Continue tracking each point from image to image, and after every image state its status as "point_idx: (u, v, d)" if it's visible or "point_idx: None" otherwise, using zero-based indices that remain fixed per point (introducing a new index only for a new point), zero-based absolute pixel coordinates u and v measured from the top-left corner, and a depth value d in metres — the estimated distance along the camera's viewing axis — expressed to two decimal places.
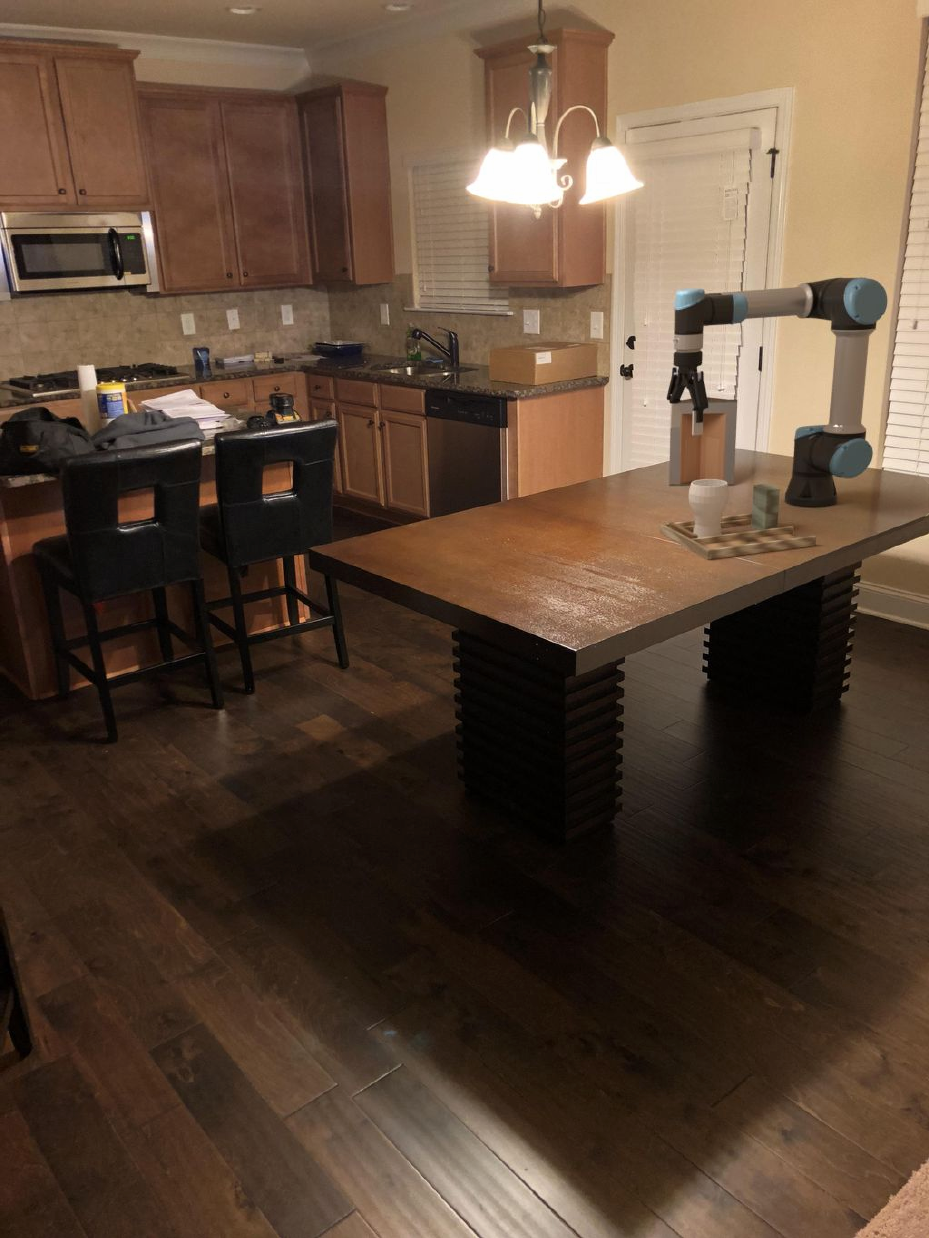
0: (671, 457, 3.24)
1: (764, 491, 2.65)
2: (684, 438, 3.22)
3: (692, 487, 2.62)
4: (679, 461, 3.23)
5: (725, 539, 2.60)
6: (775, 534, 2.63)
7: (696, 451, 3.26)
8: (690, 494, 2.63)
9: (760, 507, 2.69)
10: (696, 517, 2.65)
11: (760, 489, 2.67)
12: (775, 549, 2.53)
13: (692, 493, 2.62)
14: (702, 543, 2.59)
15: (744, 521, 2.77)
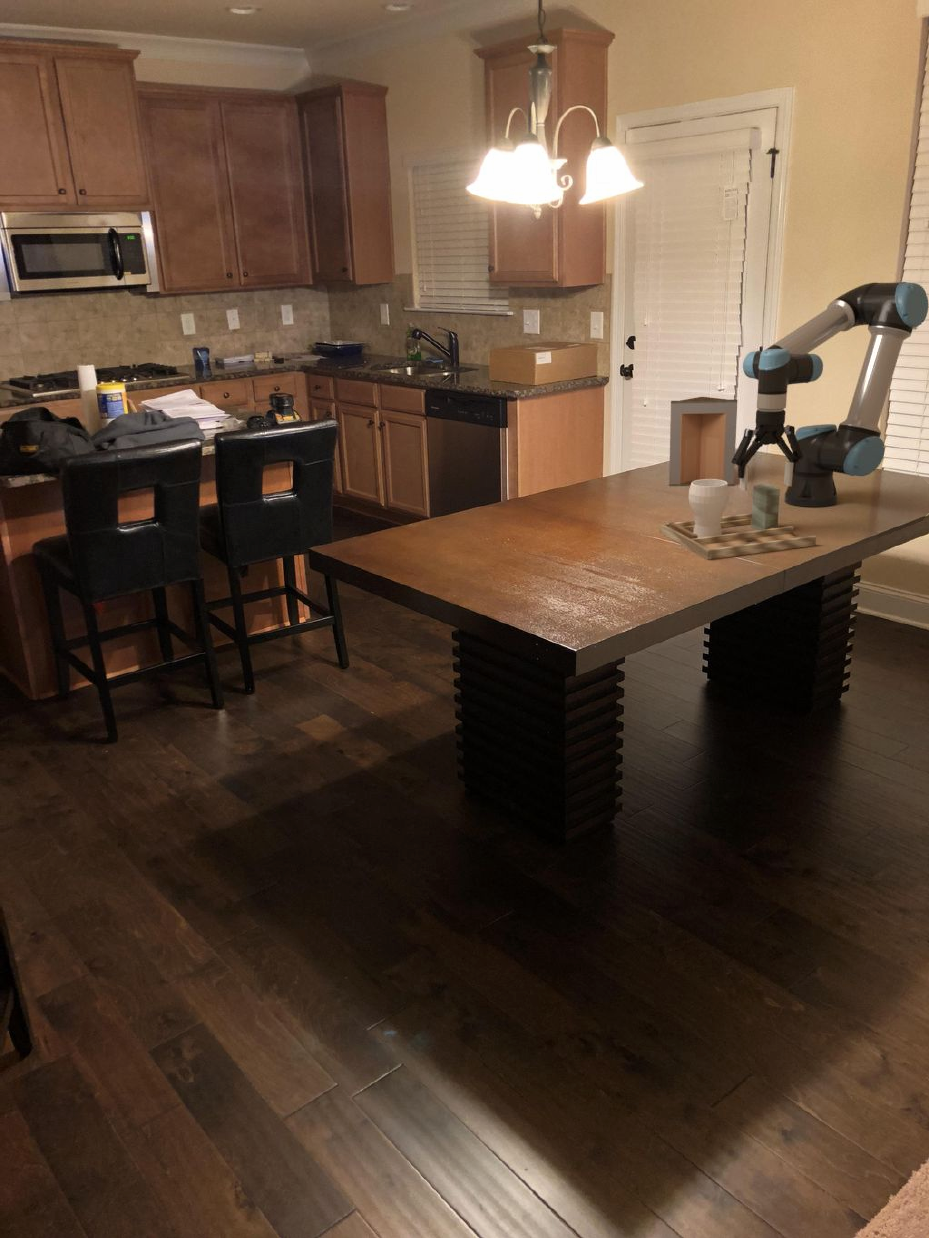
0: (671, 457, 3.24)
1: (764, 491, 2.65)
2: (684, 438, 3.22)
3: (692, 487, 2.62)
4: (679, 461, 3.23)
5: (725, 539, 2.60)
6: (775, 534, 2.63)
7: (696, 451, 3.26)
8: (690, 494, 2.63)
9: (760, 507, 2.69)
10: (696, 517, 2.65)
11: (760, 489, 2.67)
12: (775, 549, 2.53)
13: (692, 493, 2.62)
14: (702, 543, 2.59)
15: (744, 521, 2.77)
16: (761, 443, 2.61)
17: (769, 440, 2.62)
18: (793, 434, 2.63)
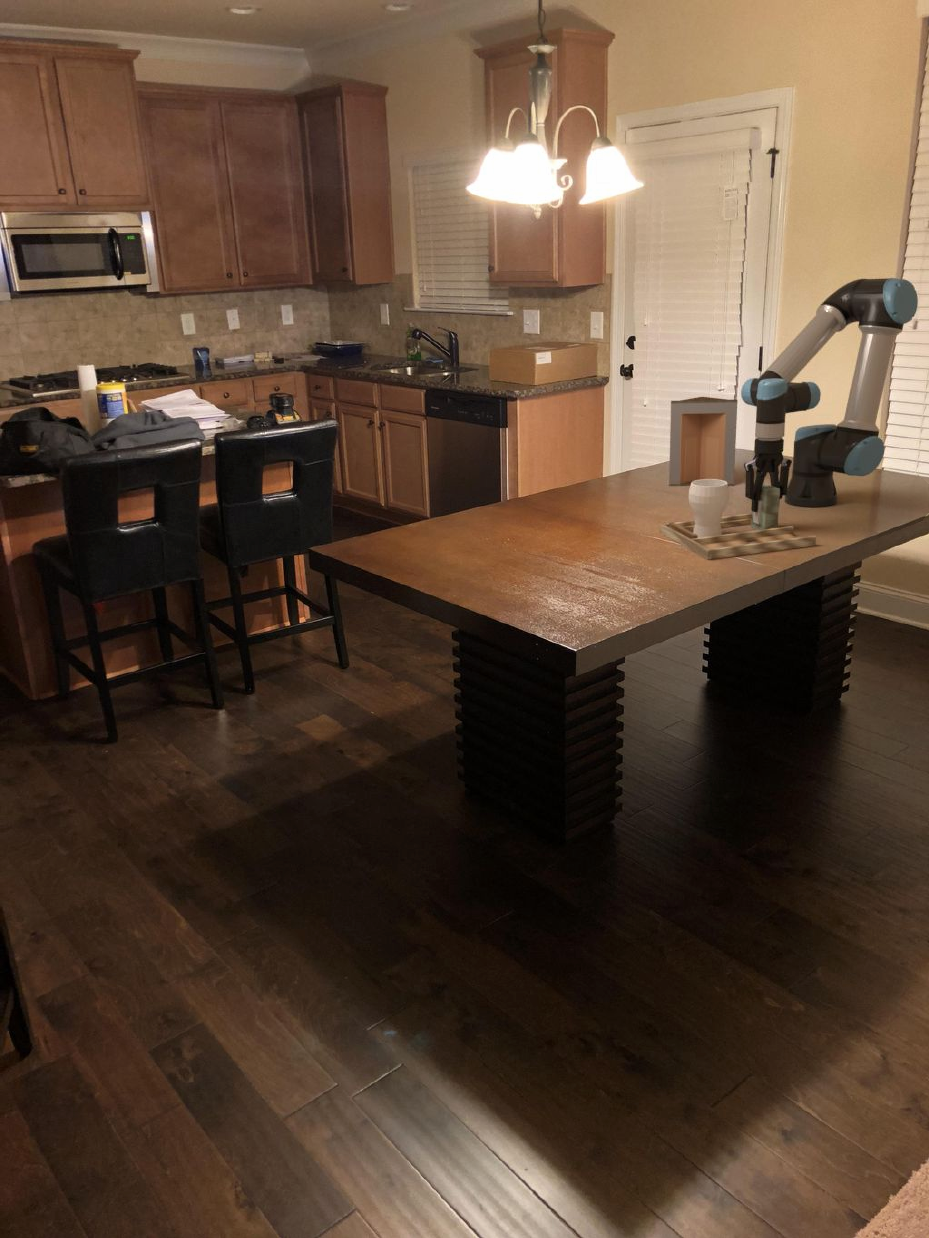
0: (671, 457, 3.24)
1: (764, 491, 2.65)
2: (684, 438, 3.22)
3: (692, 487, 2.62)
4: (679, 461, 3.23)
5: (725, 539, 2.60)
6: (775, 534, 2.63)
7: (696, 451, 3.26)
8: (690, 494, 2.63)
9: None
10: (696, 517, 2.65)
11: None
12: (775, 549, 2.53)
13: (692, 493, 2.62)
14: (702, 543, 2.59)
15: (744, 521, 2.77)
16: (764, 473, 2.64)
17: (767, 468, 2.65)
18: (788, 468, 2.66)
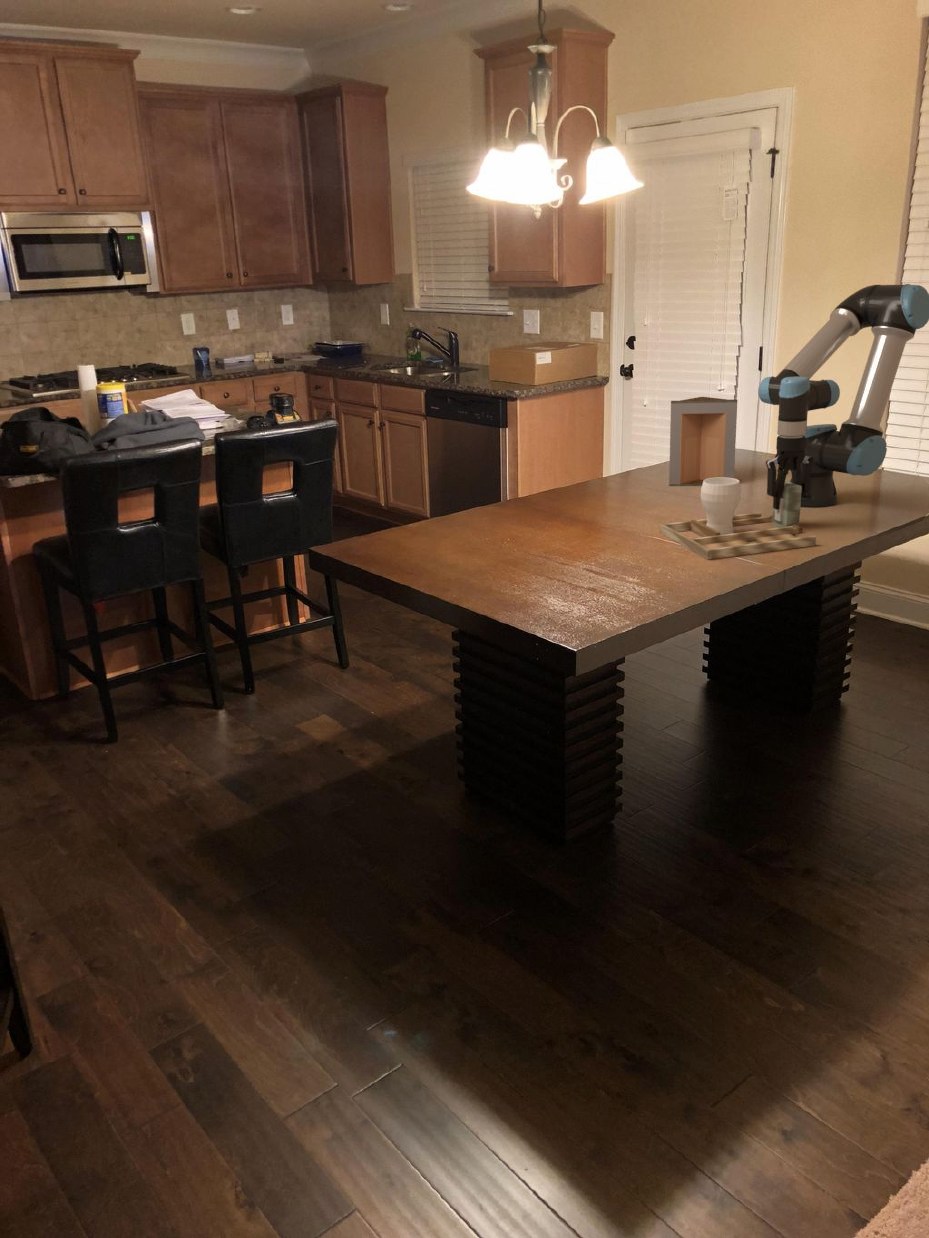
0: (671, 457, 3.24)
1: (786, 488, 2.67)
2: (684, 438, 3.22)
3: (705, 485, 2.63)
4: (679, 461, 3.23)
5: (725, 539, 2.60)
6: (775, 534, 2.63)
7: (696, 451, 3.26)
8: (703, 493, 2.64)
9: None
10: (708, 515, 2.66)
11: None
12: (775, 549, 2.53)
13: (705, 491, 2.63)
14: (702, 543, 2.59)
15: (765, 518, 2.78)
16: (786, 471, 2.66)
17: (789, 465, 2.66)
18: (810, 465, 2.68)
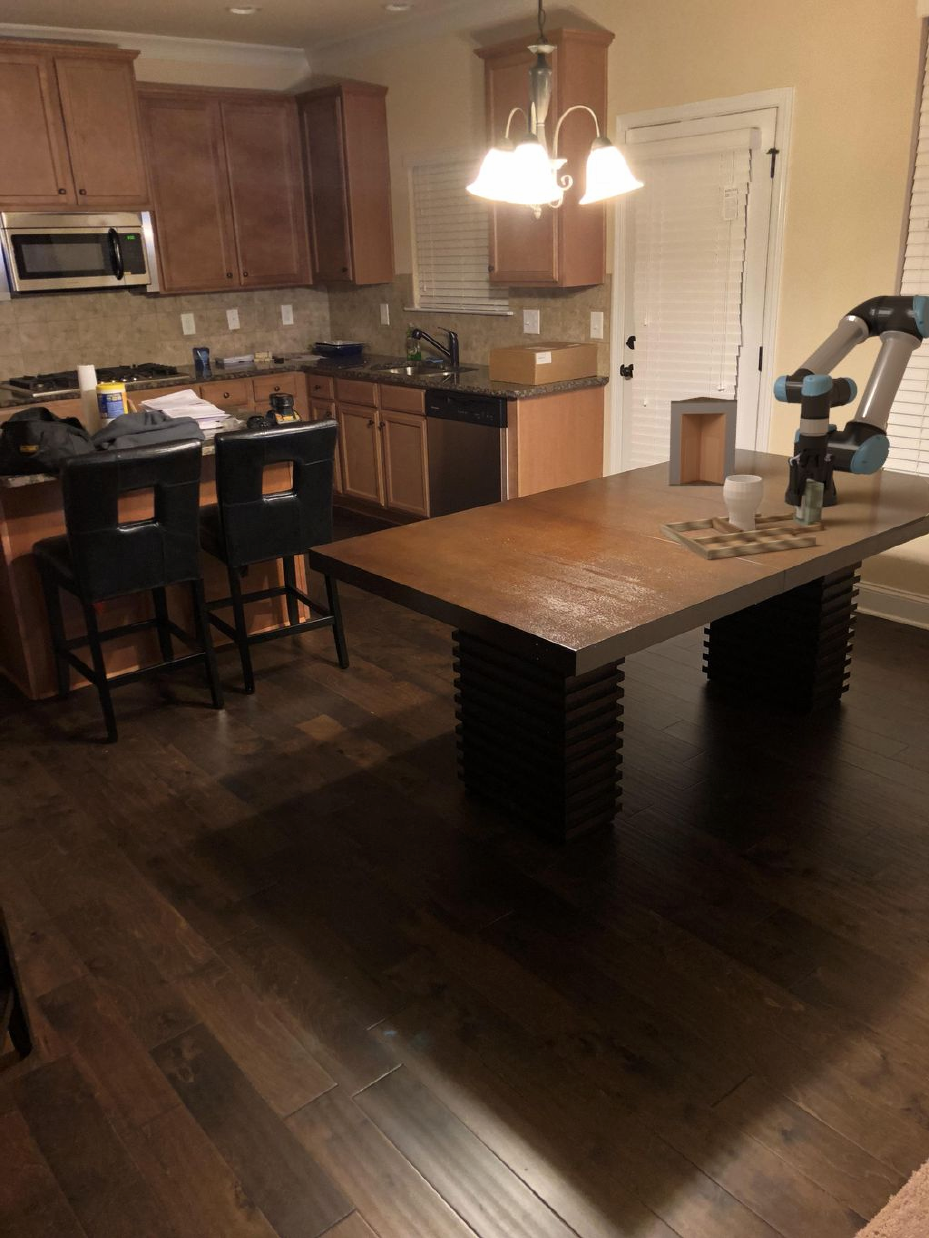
0: (671, 457, 3.24)
1: (808, 486, 2.68)
2: (684, 438, 3.22)
3: (727, 483, 2.65)
4: (679, 461, 3.23)
5: (725, 539, 2.60)
6: (775, 534, 2.63)
7: (696, 451, 3.26)
8: (725, 490, 2.65)
9: None
10: (731, 513, 2.67)
11: None
12: (775, 549, 2.53)
13: (728, 489, 2.64)
14: (702, 543, 2.59)
15: (786, 516, 2.80)
16: (808, 468, 2.67)
17: (811, 463, 2.68)
18: (831, 463, 2.69)
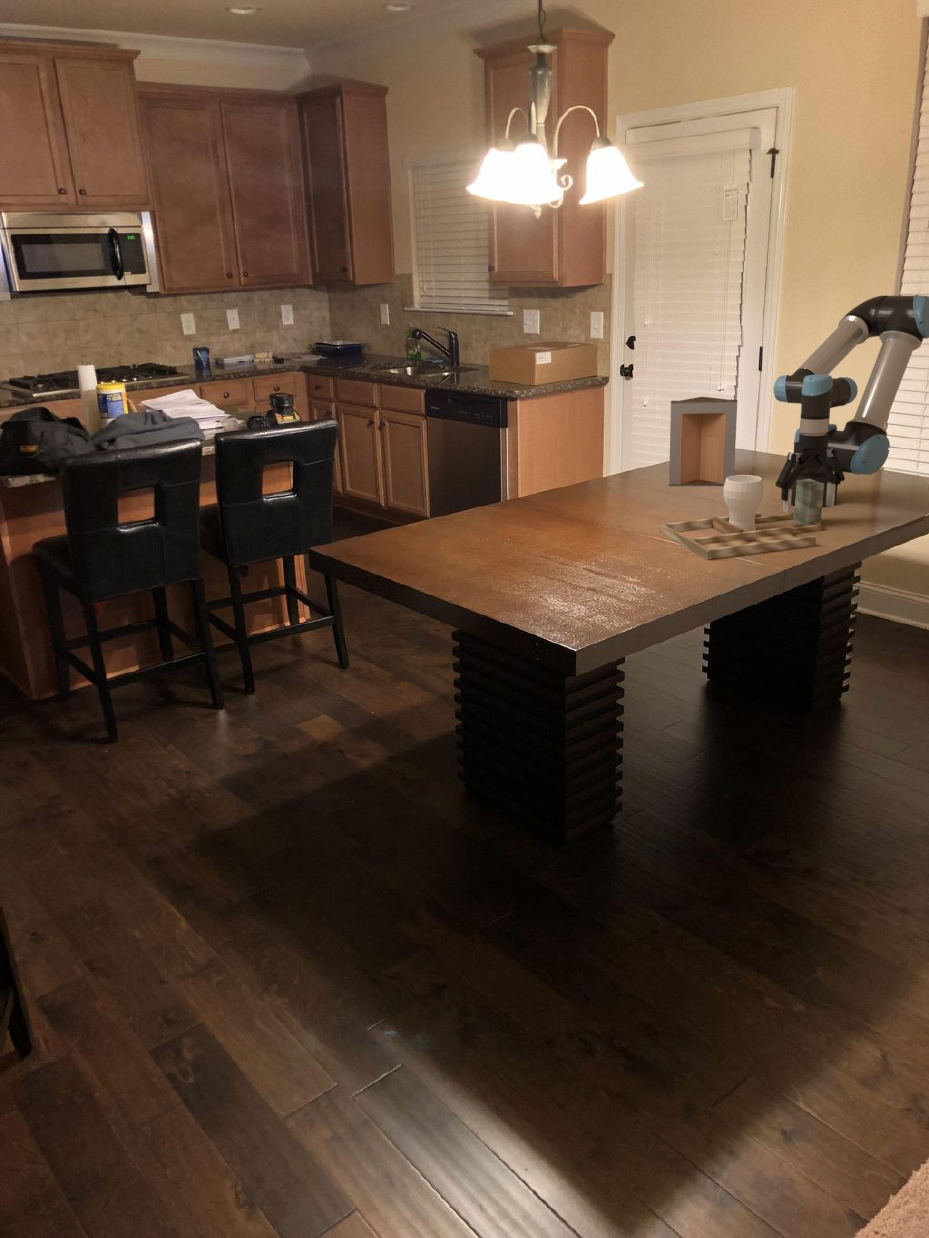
0: (671, 457, 3.24)
1: (808, 486, 2.68)
2: (684, 438, 3.22)
3: (728, 483, 2.65)
4: (679, 461, 3.23)
5: (725, 539, 2.60)
6: (775, 534, 2.63)
7: (696, 451, 3.26)
8: (725, 490, 2.65)
9: (803, 502, 2.72)
10: (731, 513, 2.67)
11: (804, 484, 2.70)
12: (775, 549, 2.53)
13: (728, 489, 2.64)
14: (702, 543, 2.59)
15: (786, 516, 2.80)
16: (804, 466, 2.67)
17: (811, 463, 2.68)
18: (835, 457, 2.69)
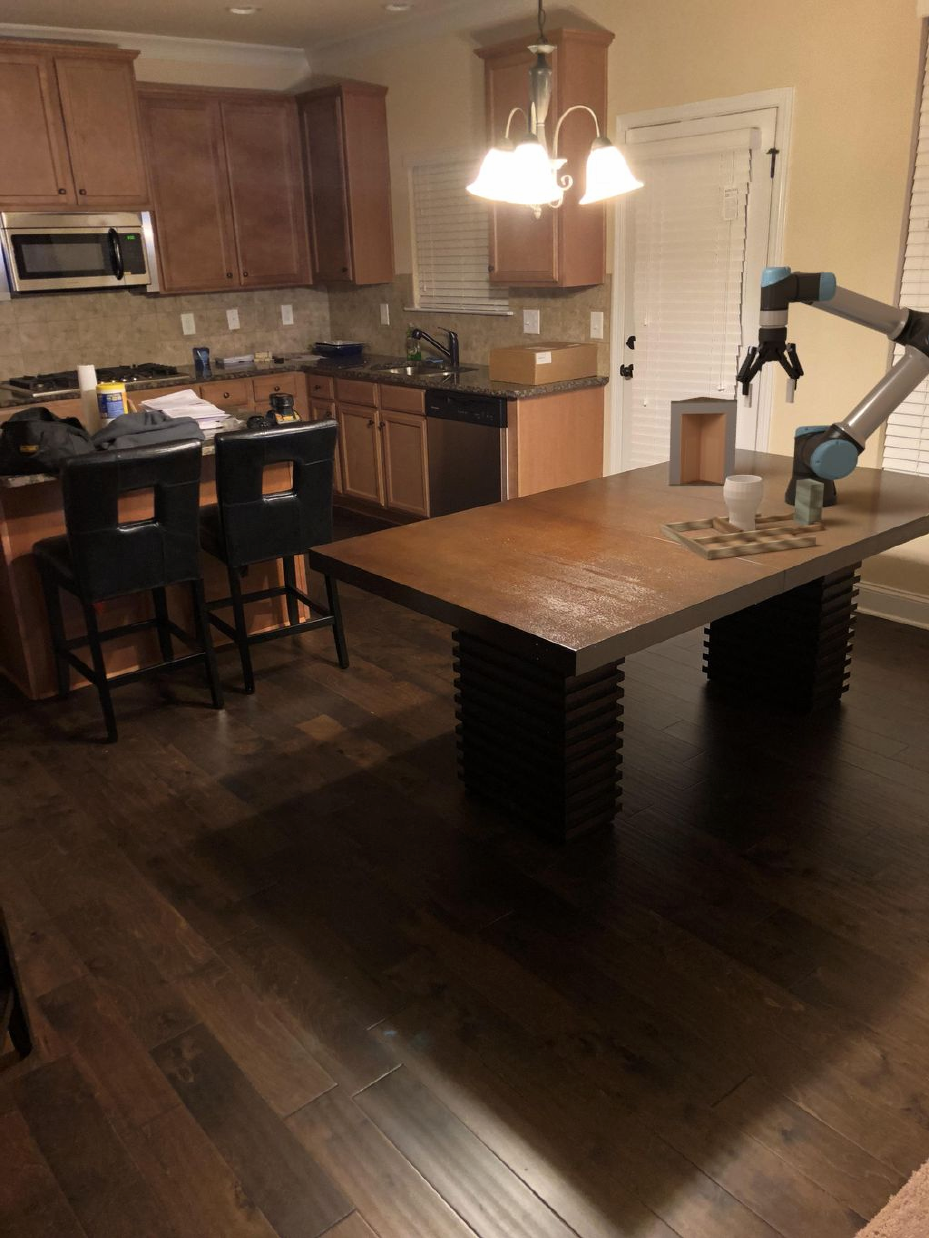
0: (671, 457, 3.24)
1: (808, 486, 2.68)
2: (684, 438, 3.22)
3: (728, 483, 2.65)
4: (679, 461, 3.23)
5: (725, 539, 2.60)
6: (775, 534, 2.63)
7: (696, 451, 3.26)
8: (726, 490, 2.65)
9: (803, 502, 2.72)
10: (731, 513, 2.67)
11: (804, 484, 2.70)
12: (775, 549, 2.53)
13: (728, 489, 2.64)
14: (702, 543, 2.59)
15: (786, 516, 2.80)
16: (764, 360, 2.68)
17: (771, 357, 2.69)
18: (794, 351, 2.71)
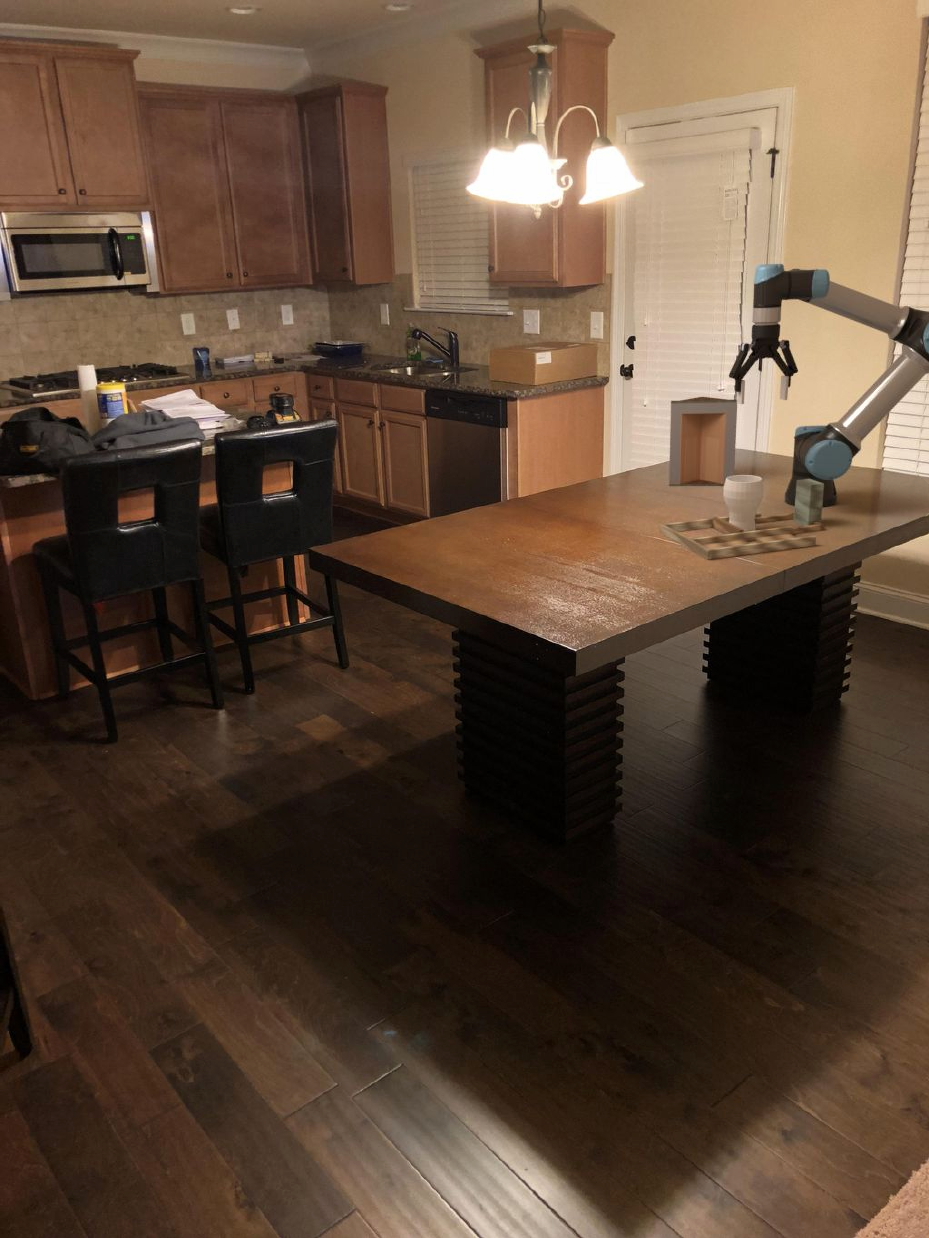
0: (671, 457, 3.24)
1: (808, 486, 2.68)
2: (684, 438, 3.22)
3: (728, 483, 2.65)
4: (679, 461, 3.23)
5: (725, 539, 2.60)
6: (775, 534, 2.63)
7: (696, 451, 3.26)
8: (726, 490, 2.65)
9: (803, 502, 2.72)
10: (731, 513, 2.67)
11: (804, 484, 2.70)
12: (775, 549, 2.53)
13: (728, 489, 2.64)
14: (702, 543, 2.59)
15: (786, 516, 2.80)
16: (757, 357, 2.70)
17: (764, 353, 2.71)
18: (788, 348, 2.72)
